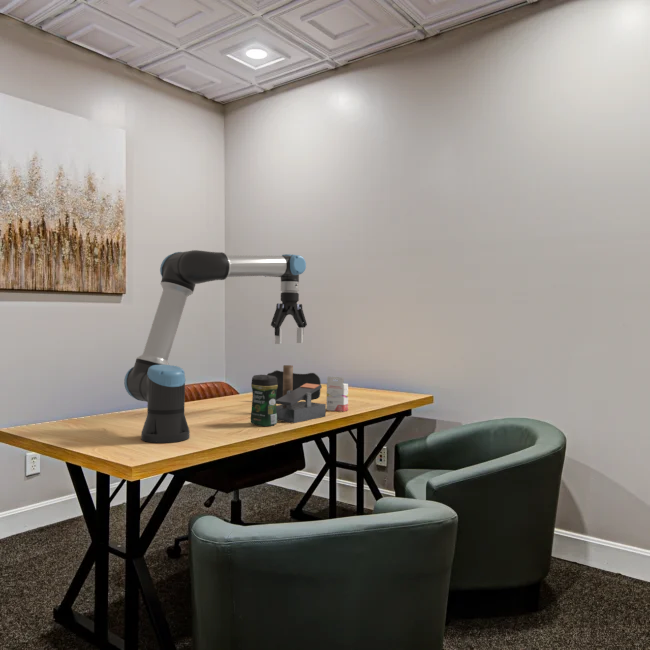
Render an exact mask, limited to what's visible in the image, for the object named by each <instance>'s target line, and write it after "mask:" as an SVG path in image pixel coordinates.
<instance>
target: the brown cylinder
mask: <svg viewBox="0 0 650 650" xmlns="http://www.w3.org/2000/svg"><path fill="white" fill-rule="evenodd" d="M282 368H283V369H282V370H283V396H284V395H286V394H287V391H288V390H293V373H294V366H293V365H289V364H288V365H283V366H282Z"/></svg>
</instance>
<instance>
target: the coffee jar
mask: <svg viewBox="0 0 650 650" xmlns="http://www.w3.org/2000/svg"><path fill="white" fill-rule="evenodd" d="M277 387H278V383H277V378H276V377H275V376H270V375H267V374H254V375H253V376H252V378H251V390H252V398H251V399H252V401H251V411H250V424H252V425H254V426H259V427H272V426H273V427H274V426H275V425H276V424H277V423H278V420H277V411H276V406H277V404H276V391H277Z"/></svg>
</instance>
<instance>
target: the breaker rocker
mask: <svg viewBox="0 0 650 650" xmlns="http://www.w3.org/2000/svg"><path fill="white" fill-rule="evenodd" d="M319 389H320V390H321V389H322V384H321V385H318V384H308V383H306V384H304V385H302V386H300V387H299V388H297V389H295V390H293V391H292V392H290V393H288V394H286V395H284V396H283V397H281V398H279V399H277V400H276V405H290V406H292V405H293V404H295V403H297V402H301V401H303V400H302V399H304V398H305V395H306V393H308V392H311V394H312V393H314V392H315V391H317V390H319Z"/></svg>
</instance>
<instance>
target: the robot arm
mask: <svg viewBox="0 0 650 650" xmlns="http://www.w3.org/2000/svg"><path fill="white" fill-rule="evenodd" d="M306 268H307V262H306V260H305V257H303V256H302V255H298V254H291V253H289V254H281V255H248V254H247V255H245V254H244V255H239V254H238V255H232V254H231V255H228V254H226V253H225V252H220V251H219V252H216V251H208V250H207V251H206V250H198V249H197V250H196V249H195V250H194V249H192V250H186V251H177V252H173V253H172V254H168V255H167V256H165V257H164V258H163V260H162V262H161V263H160V269H159V272H160V276H161V281H160V285H161V287H162V293H161V296H160V298H159V302H158V305H157V308H156V312H155V315H154V318H153V321H152V324H151V328H150V331H149V333H148V336H147V340H146V343H145V346H144V349H143V353H142V354H141V355H139V356H138V357H136V359H135V363H134V365H133V367H131V368H129V369H128V371H127V372H126V374H125V375H124V389H125V391H126V392H127V394H128V395H129V396H130V397H132V398H133V399H135V400H137V401H141V402H147V408H146V410H147V414H146V417H145V420H144V422H143V423H144V424H143V425H142V426H143V427H142V430H141V434H140V436H141V437H140V439H141V441H143V442H148V443H156V444H157V443H159V444H160V443H161V444H162V443H163V444H164V443H165V444H166V443H177V442H183V441H187V440H189V439H190V433H191V432H190V428H189V425H188V422H187V417H186V415H185V403H186V401H185V400H186V399H185V398H186V397H185V395H186V375H185V374H186V373H185V370H184V369H183V368H182V367H180V366H177V365H170V364H169V362H168V360H169V357H170V353H171V350H172V348H173V344H174V340H175V337H176V335H177V331H178V328H179V325H180V321H181V319H182V315H183V311H184V308H185V305H186V302H187V299H188V297H189V296H191V295H193V293H194V291H195V289H196V288H195V287H196V285H198V284H203V283H207V282H208V283H209V282H213V281H224V280H226V279H227V278H234V277H235V278H236V277H241V278H242V277H265V278H266V277H270V278H271V277H272V278H273V277H274V278H280V302H281V303H276V307H275V311H274V314H273V317H272V319H271V323H270V327H272V328H274V337H275V338H274V339H275V340H274V341H275V342H274V344H275V345H282V327H281V326H282V324H283V322H284V321H285V319H286V318H287V316H288V315H290V316H292V318H293V320H294V322H295V323H296V325H297V327H296V344H303V343H304V342H303V341H304V339H303V338H304V328H306V327H307V326H308V325H307V324H308V323H307V320H306V318H305V317H306V316H305V314H304V310H303V304H302V303H298V302H299V300H300V298H299V296H300V293H299V291H300V290H299V288H300V287H299V283H300V275H302V274H304V273H305V271H306Z"/></svg>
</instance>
